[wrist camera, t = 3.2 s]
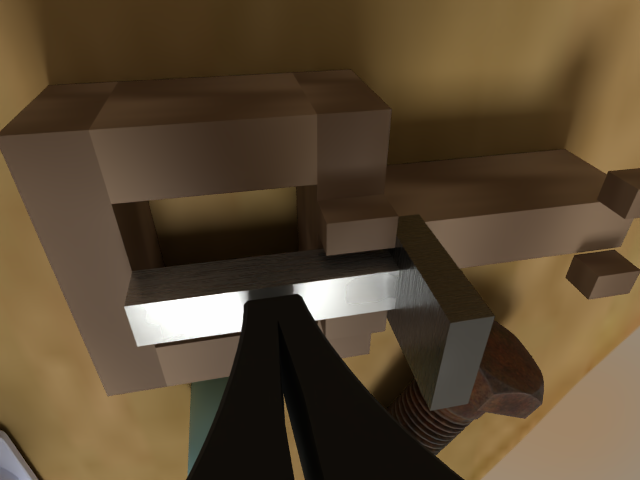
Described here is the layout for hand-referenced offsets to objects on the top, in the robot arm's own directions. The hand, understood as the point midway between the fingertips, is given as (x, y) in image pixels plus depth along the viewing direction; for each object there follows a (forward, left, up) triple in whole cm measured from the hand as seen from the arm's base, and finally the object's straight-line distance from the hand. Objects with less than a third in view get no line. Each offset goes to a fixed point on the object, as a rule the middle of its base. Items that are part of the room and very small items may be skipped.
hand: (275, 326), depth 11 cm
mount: (+3, 0, -6) cm, 7 cm away
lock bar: (0, 0, -2) cm, 2 cm away
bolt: (+6, -14, -7) cm, 17 cm away
